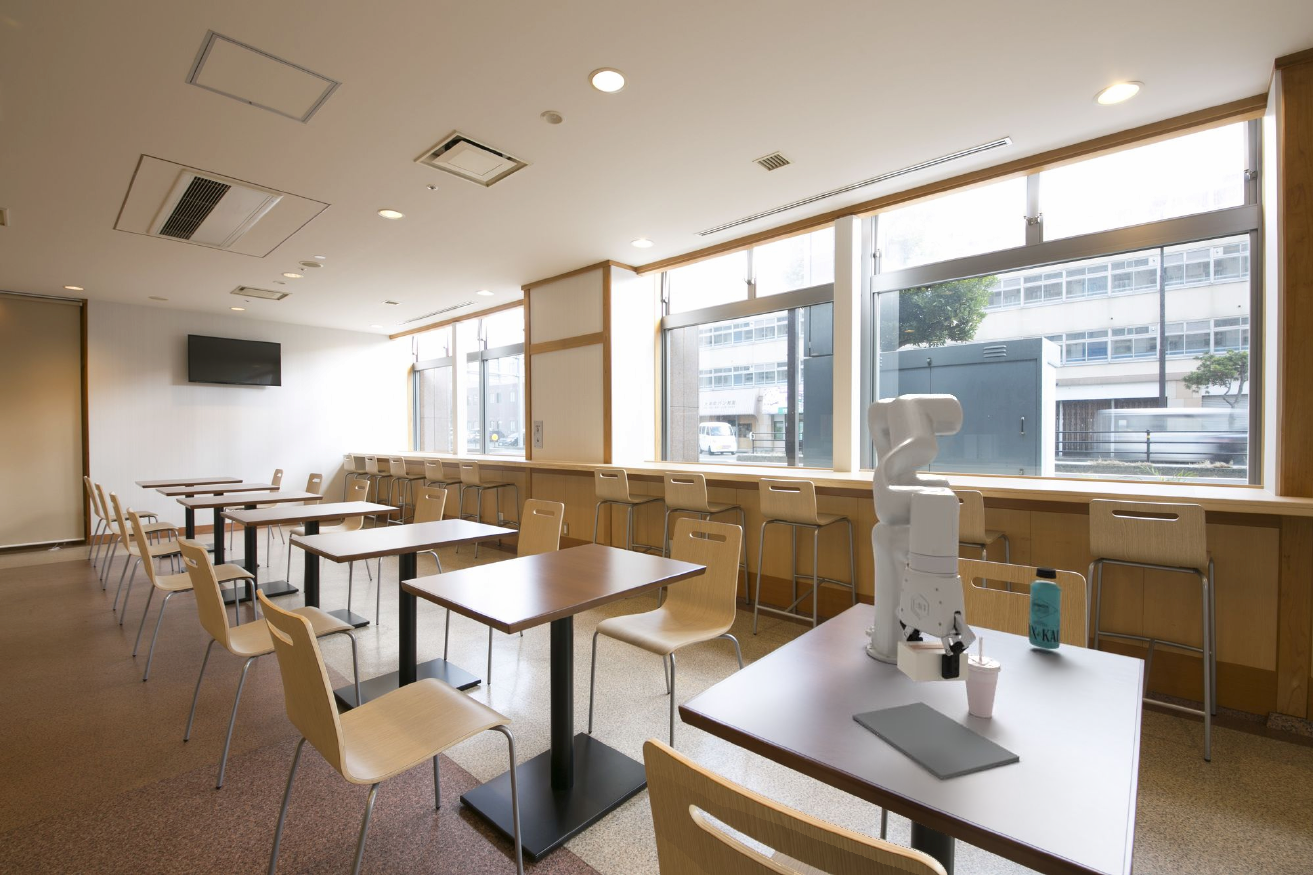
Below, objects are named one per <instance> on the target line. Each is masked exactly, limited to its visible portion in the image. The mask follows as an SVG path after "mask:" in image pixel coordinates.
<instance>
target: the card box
mask: <svg viewBox="0 0 1313 875" xmlns="http://www.w3.org/2000/svg"><path fill="white" fill-rule="evenodd" d="M950 643H951V646H952V645H953V642H950ZM944 653H945V650H944V647H943V644H942V641H941V640H926V641H925V640H923V641H911V642H898V657H897V664H896V665H897V666H896V667H897V669H898V670H899V671H901V672H902V673H903V674H905V675H906V676H908V677H909V678H910V679H911V680H913V681H914V682H916V683H924V682H927V683H928V682H959V681H962V682H963V681H965V682H966V680H968V655H969V653H968V652H967V651H966V650H965V651H964V652H963V654H960V668H959V677H958V678H951V679H944V678H942V654H944Z"/></svg>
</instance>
